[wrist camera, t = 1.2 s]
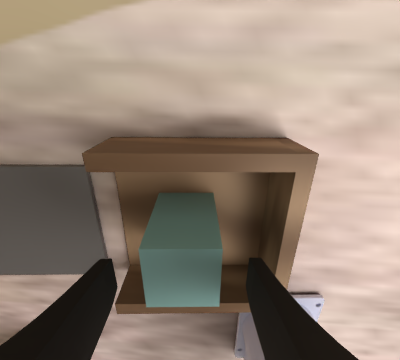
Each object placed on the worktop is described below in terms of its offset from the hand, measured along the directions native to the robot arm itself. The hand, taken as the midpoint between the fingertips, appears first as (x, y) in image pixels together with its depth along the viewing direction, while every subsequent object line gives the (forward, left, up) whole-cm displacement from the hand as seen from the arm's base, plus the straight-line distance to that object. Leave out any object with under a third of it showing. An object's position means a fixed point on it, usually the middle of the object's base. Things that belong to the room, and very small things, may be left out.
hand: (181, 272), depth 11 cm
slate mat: (-1, +12, -6) cm, 13 cm away
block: (0, 0, -6) cm, 6 cm away
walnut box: (0, -1, -6) cm, 6 cm away
